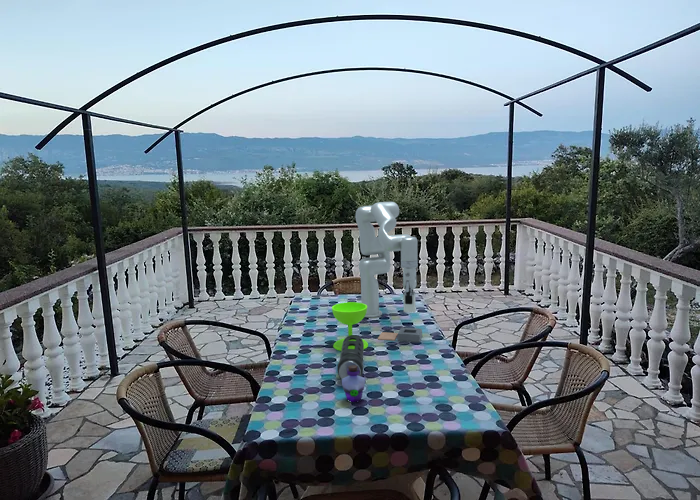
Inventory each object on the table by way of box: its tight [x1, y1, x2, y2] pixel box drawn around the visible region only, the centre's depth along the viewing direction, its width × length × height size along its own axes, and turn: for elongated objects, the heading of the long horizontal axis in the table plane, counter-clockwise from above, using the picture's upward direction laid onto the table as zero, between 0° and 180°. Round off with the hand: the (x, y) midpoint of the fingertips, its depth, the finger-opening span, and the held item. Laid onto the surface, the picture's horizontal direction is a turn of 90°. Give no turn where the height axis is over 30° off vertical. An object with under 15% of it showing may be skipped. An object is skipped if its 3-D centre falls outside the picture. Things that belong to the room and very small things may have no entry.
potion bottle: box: [341, 365, 366, 402], centre depth 163 cm, size 9×9×12 cm
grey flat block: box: [397, 327, 423, 343], centre depth 221 cm, size 10×9×4 cm
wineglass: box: [331, 301, 369, 352], centre depth 214 cm, size 16×16×18 cm
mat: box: [377, 331, 398, 342], centre depth 225 cm, size 8×9×1 cm
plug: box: [402, 290, 417, 314], centre depth 219 cm, size 5×4×9 cm
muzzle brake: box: [336, 334, 365, 380], centre depth 187 cm, size 10×28×10 cm, turn 177°
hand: (409, 302), depth 219 cm, fingers closed on plug, 3 cm apart
